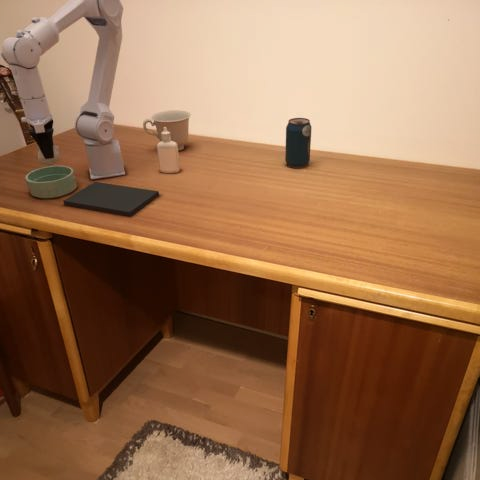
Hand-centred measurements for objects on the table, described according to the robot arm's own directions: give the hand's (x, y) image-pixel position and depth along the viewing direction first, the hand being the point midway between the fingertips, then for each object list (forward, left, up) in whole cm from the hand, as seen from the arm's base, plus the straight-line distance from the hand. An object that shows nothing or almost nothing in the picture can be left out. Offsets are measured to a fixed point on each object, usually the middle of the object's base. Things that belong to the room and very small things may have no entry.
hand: (49, 154), depth 118 cm
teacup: (-34, -21, -10) cm, 42 cm away
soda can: (-65, +8, -10) cm, 67 cm away
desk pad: (-12, +12, -10) cm, 20 cm away
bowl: (+2, -1, -10) cm, 10 cm away
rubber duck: (0, 0, -3) cm, 3 cm away
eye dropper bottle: (-30, -2, -10) cm, 32 cm away
